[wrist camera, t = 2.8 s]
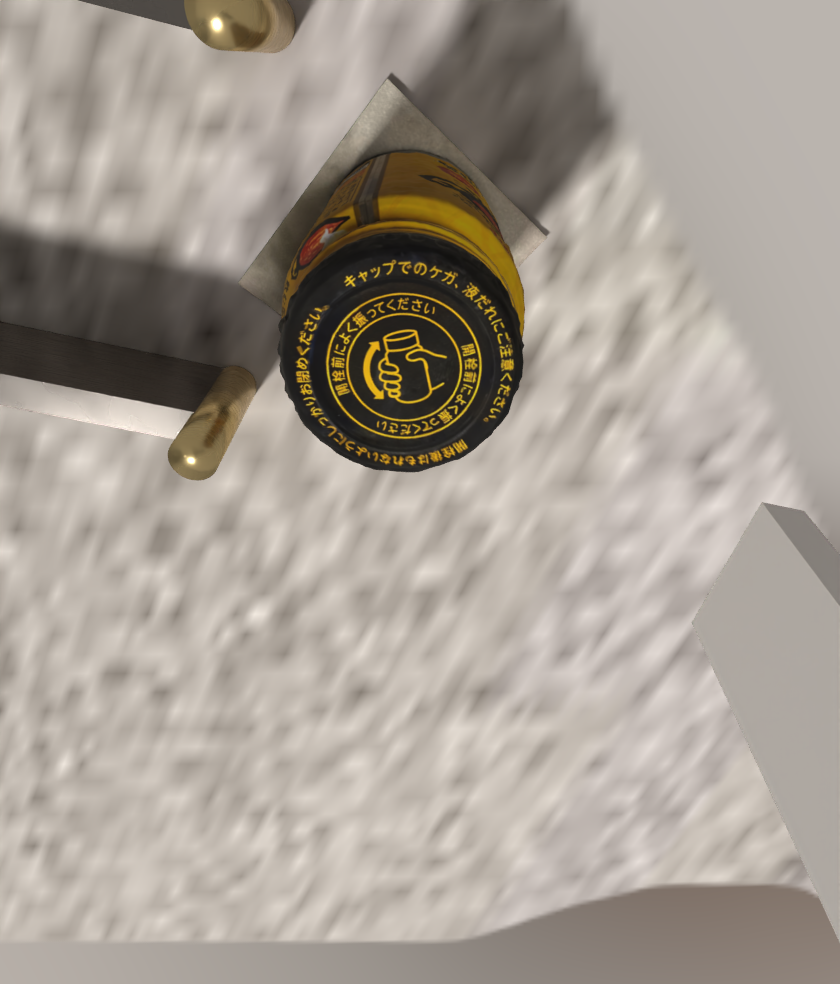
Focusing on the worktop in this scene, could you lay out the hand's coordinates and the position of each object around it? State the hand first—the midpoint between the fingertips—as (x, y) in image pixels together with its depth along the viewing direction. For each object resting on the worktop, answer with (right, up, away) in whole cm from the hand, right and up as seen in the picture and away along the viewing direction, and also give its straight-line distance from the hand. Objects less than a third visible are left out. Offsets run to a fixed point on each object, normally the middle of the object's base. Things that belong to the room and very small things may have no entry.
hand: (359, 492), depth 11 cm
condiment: (0, +8, +14) cm, 16 cm away
